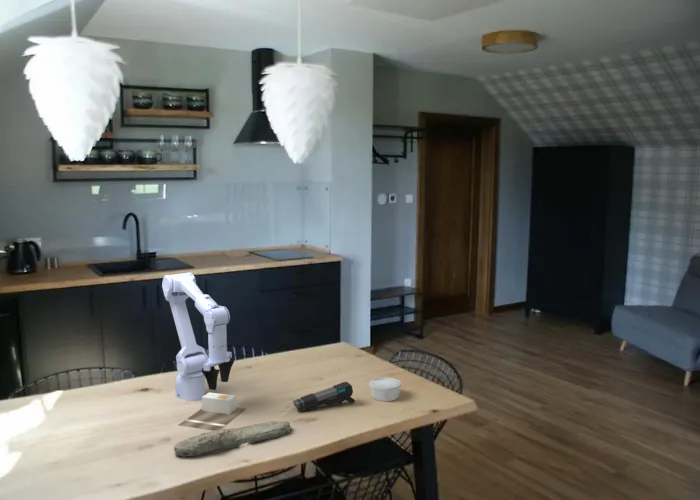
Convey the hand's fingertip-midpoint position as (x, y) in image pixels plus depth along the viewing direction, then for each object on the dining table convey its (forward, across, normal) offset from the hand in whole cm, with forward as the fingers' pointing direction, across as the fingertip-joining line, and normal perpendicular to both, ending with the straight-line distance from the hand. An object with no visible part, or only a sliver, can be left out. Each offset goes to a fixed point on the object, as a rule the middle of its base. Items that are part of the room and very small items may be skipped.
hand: (218, 385), depth 194 cm
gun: (+10, +16, -31) cm, 36 cm away
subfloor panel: (+9, -6, -1) cm, 11 cm away
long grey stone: (+10, -17, -15) cm, 25 cm away
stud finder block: (+8, 0, 0) cm, 8 cm away
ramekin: (+10, +30, -48) cm, 58 cm away
